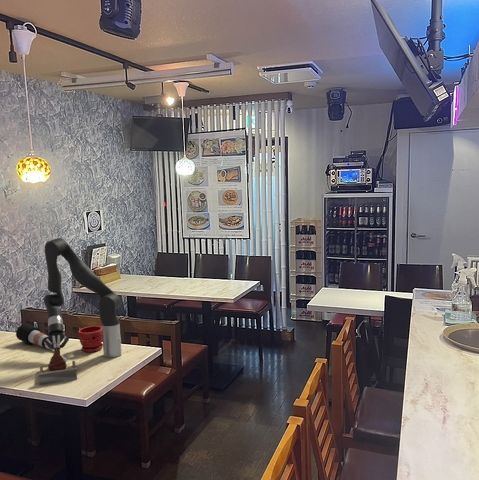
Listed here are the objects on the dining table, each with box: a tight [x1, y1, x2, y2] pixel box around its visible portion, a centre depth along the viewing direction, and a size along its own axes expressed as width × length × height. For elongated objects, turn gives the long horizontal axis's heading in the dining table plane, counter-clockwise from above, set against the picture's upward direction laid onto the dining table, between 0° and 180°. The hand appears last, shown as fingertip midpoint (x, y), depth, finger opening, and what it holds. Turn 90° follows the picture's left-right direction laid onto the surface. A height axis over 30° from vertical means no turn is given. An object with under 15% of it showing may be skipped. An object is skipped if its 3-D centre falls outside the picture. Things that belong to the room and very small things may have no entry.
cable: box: [15, 323, 62, 351], centre depth 273 cm, size 10×34×10 cm, turn 56°
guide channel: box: [38, 360, 78, 386], centre depth 230 cm, size 20×16×5 cm
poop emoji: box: [47, 351, 68, 372], centre depth 238 cm, size 10×8×9 cm
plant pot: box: [78, 325, 103, 353], centre depth 265 cm, size 13×13×12 cm
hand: (57, 355), depth 245 cm, fingers closed
